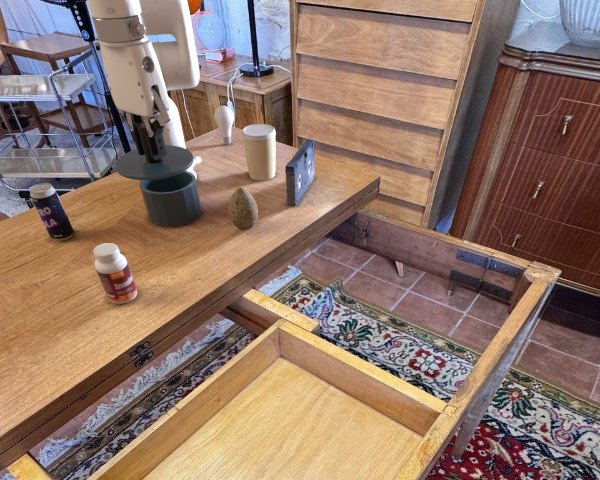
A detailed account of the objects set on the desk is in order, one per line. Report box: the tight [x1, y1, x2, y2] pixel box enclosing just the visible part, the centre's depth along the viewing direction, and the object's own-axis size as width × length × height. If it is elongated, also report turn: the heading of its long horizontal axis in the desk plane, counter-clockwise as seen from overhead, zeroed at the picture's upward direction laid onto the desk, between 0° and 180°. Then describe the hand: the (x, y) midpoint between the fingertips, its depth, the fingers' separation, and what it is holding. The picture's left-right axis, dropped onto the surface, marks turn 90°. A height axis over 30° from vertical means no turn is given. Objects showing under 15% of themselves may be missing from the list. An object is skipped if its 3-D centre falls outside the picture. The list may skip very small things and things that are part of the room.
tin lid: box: [114, 122, 194, 181], centre depth 82 cm, size 15×15×7 cm
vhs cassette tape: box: [284, 139, 316, 207], centre depth 119 cm, size 18×3×10 cm, turn 161°
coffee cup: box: [241, 123, 277, 181], centre depth 126 cm, size 9×9×12 cm
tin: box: [139, 171, 202, 228], centre depth 113 cm, size 14×14×8 cm
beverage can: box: [29, 182, 74, 242], centre depth 105 cm, size 6×6×12 cm
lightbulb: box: [213, 105, 235, 146], centre depth 141 cm, size 6×6×11 cm
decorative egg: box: [227, 187, 259, 231], centre depth 107 cm, size 7×7×10 cm
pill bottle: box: [92, 242, 138, 305], centre depth 90 cm, size 6×6×11 cm
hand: (152, 154), depth 83 cm, fingers closed on tin lid, 3 cm apart
